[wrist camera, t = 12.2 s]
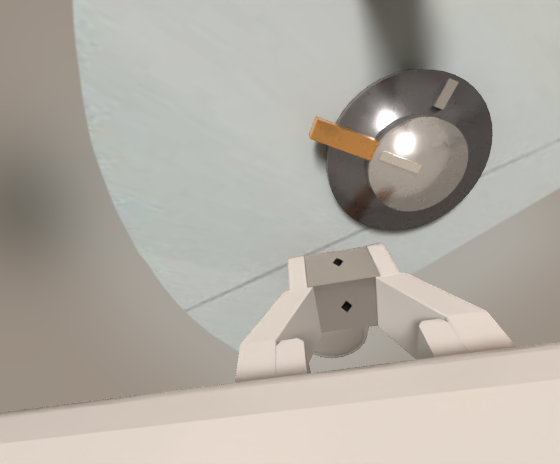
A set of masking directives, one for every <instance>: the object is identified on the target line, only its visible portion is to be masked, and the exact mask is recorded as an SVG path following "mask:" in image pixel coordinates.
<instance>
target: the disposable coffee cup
mask: <svg viewBox="0 0 560 464" xmlns="http://www.w3.org/2000/svg"><path fill="white" fill-rule="evenodd" d="M367 331H368V327H360V328H351V329H344V330H338V331H332V332H326V333H322V336H321V338H320V340H319V342H318V344H317V346H316V348H315V351H314V353H313V354H314V355H318V356H320V357H325V358H337V357H343V356H346V355H349V354H351V353H353V352H355V351H356V350H358V349H359V348H360V347H361V346H362V345H363V344H364V342H365V340H366V338H367Z"/></svg>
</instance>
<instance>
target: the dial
mask: <svg viewBox="0 0 560 464" xmlns="http://www.w3.org/2000/svg"><path fill="white" fill-rule="evenodd" d="M309 137H310V139H312V140H315V141H317V142H320V143H323V144H326V145H328V146H331V147H334V148H337V149H339V150H342V151H345V152H348V153H350V154H353V155H356V156H359V157H361V158H364V159H365V162H364V171H365V177H366V180H367V182H368V184H369V186H370V188H371V189H372V190H373V192H374V193H375V195H376V196H377V197H378V198H379V200H380V201H381V202H383V203H384V204H385V205H387V206H388V207H390V208H393V209H395V210H399V211H418V210H423V209H426V208H429V207H431V206H433V205H435V204H437V203H439V202H440V201H442V200H443V199H444V198H446V197H447V196H448V195H449V194H450V193H451V192H452V191H453V190H454V189H455V188H456V186H457V185H458V184H459V182H460V181H461V179H462V177H463V175H464V173H465V170H466V167H467V162H468V147H467V143H466V140H465V138H464V136H463V134H462V133H461V132H460V131H459V129H458V128H457V127H455V126H454V125H453V124H451V123H449V122H447V121H444V120H441V119H439V118H436V117H433V116H430V115H424V114H413V115H408V116H404V117H401V118H399V119H396V120H395V121H393V122H391V123H390V124H388V125H387V126H385V127H384V128H383V129H382V130H381V131H380V132H379V133H378V134H377V135H376V136H375V138H372V137H370V136H367V135H364V134H362V133H359V132H357V131H354V130H351V129H349V128H346V127H343V126H341V125H338V124H335V123H333V122H330V121H327V120H325V119H322V118H319V117H317V116H316V117H315V120H314V122H313V125H312V127H311V130H310V133H309Z"/></svg>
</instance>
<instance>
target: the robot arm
mask: <svg viewBox="0 0 560 464" xmlns="http://www.w3.org/2000/svg"><path fill="white" fill-rule="evenodd" d="M288 276H289V291H284V293H283V294H282V295H281V296H280V297H279V299H278V300H277V301H276V302H275V303H274V305H273V306H272V307H271V308H270V310H269V311H268V312H267V313H266V314H265V316H264V317H263V318H262V319H261V320H260V322H259V323H258V324H257V325H256V326H255V328H254V329H253V330H252V331H251V332H250V334H249V335H248V336H247V337H246V338H245V340H244V341H243V342H242V343H241V345H240V351H239V358H238V365H237V372H236V379H235V383H229V384H221V385H214V386H205V387H197V388H190V389H182V390H174V391H166V392H158V393H150V394H143V395H134V396H126V397H119V398H110V399H102V400H94V401H87V402H79V403H71V404H63V405H56V406H47V407H39V408H31V409H23V410H15V411H8V412H0V464H560V342H554V343H546V344H539V345H531V346H523V347H516V346H515V345H514V343H513V342H512V341H511V340H510V339H509V337H508V336H507V335H506V334H505V333H504V332H503V330H502V329H501V328H500V327H499V325H498V324H497V323H496V322H495V321H494V319H493V318H492V317H491V316H490V315H489V313H488V312H487V311H485V310H483V309H481V308H479V307H477V306H475V305H473V304H470V303H468V302H466V301H464V300H462V299H460V298H458V297H456V296H454V295H452V294H450V293H447V292H445V291H443V290H441V289H439V288H437V287H435V286H433V285H430V284H428V283H426V282H424V281H422V280H420V279H418V278H416V277H414V276H412V275H409V274H407V273H400V271H399V270H398V268H397V266H396V265H395V263H394V261H393V259H392V258H391V256H390V254H389V253H388V251H387V249H386V247H385V246H384V244H382V243H378V244H373V245H368V246H364V247H358V248H353V249H347V250H342V251H336V252H335V251H334V252H327V253H320V254H313V255H306V256H299V257H293V258H289V259H288ZM369 326H378V327H379V328H380V329H381V330H383V331H384V332H385V333H386V334H388V336H389V337H391V338H392V339H393V340H394V341H395V342H396V343H398V344H399V345H400V346H401V347H403V348H404V349H405V350H406V351H407V352H408V353H409V354H411V355H412V356H413V357H414V358H415V359H416V360H411V361H402V362H395V363H387V364H379V365H371V366H363V367H355V368H348V369H340V370H332V371H324V372H317V373H311V371H310V367H309V361H310V359H311V357H312V355H313V353H314V351H315V348H316V346H317V344H318V342H319V340H320V338H321V336H322V333H326V332H332V331H338V330H344V329H351V328H360V327H369Z"/></svg>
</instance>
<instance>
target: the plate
mask: <svg viewBox="0 0 560 464" xmlns="http://www.w3.org/2000/svg"><path fill="white" fill-rule="evenodd" d="M413 114H424V115H430V116H433V117H436V118H439V119H441V120H444V121H447V122H449V123H451V124H453V125H454V126H455V127H457V128H458V129H459V131H460V132H461V133H462V134H463V136H464V138H465V140H466V143H467V147H468V162H467V167H466V170H465V173H464V175H463V177H462V179H461V181H460V182H459V184H458V185H457V186H456V188H455V189H454V190H453V191H452V192H451V193H450V194H449V195H448V196H447V197H446V198H444V199H443V200H442V201H440V202H439V203H437V204H435V205H433V206H431V207H429V208H426V209H423V210H418V211H399V210H395V209H393V208H390V207H388V206H387V205H385V204H384V203H383V202H381V201H380V200H379V198H378V197H377V196H376V195H375V193H374V192H373V190H372V189H371V188H370V186H369V184H368V182H367V180H366V177H365V171H364V162H365V159H364V158H361V157H359V156H356V155H353V154H350V153H348V152H345V151H342V150H339V149H337V148H334V147H331V146H327V151H326V172H327V177H328V181H329V184H330V187H331V189H332V192H333V194H334V196H335V198H336V200H337V201H338V203H339V204H340V206H341V207H342V208H343V209H344V210H345V211H346V212H347V213H348V214H349V215H350V216H351V217H353V218H354V219H355V220H357V221H359V222H361V223H362V224H365V225H368V226H370V227H374V228H378V229H385V230H402V229H409V228H413V227H417V226H420V225H423V224H426V223H428V222H431V221H433V220H435V219H437V218H439V217H440V216H442V215H444V214H445V213H447V212H448V211H450V210H451V209H453V208H454V207H455V206H456V205H457V204H458V203H460V202H461V201H462V200H463V199H464V198H465V196H466V195H467V194H468V193H469V192H470V191H471V189H472V188H473V187H474V186H475V184H476V183H477V181H478V179H479V178H480V176H481V174H482V172H483V170H484V168H485V166H486V163H487V160H488V158H489V154H490V150H491V145H492V122H491V117H490V113H489V110H488V108H487V105H486V103H485V101H484V100H483V98H482V96H481V95H480V94H479V93H478V91H477V90H476V89H475V88H474V87H473V86H472V85H470V84H469V83H468V82H467V81H465V80H464V79H462V78H460V77H458V76H456V75H454V74H451V73H448V72H444V71H438V70H426V69H414V70H407V71H401V72H398V73H394V74H391V75H389V76H386V77H384V78H382V79H379V80H378V81H376V82H374V83H373V84H371V85H369V86H368V87H367V88H365V89H364V90H363V91H361V92H360V93H359V94H358V95H357V96H356V97H355V98H354V99H353V100H352V101H351V102H350V103H349V104H348V105H347V107H346V108H345V109H344V110H343V112H342V113H341V115H340V117H339V118H338V120H337V122H336V124H338V125H341V126H343V127H346V128H349V129H351V130H354V131H357V132H359V133H362V134H364V135H367V136H370V137H372V138H375V136H376V135H377V134H378V133H379V132H380V131H381V130H382V129H383V128H384V127H385V126H387V125H388V124H390V123H391V122H393V121H395V120H396V119H399V118H401V117H404V116H408V115H413Z"/></svg>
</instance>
